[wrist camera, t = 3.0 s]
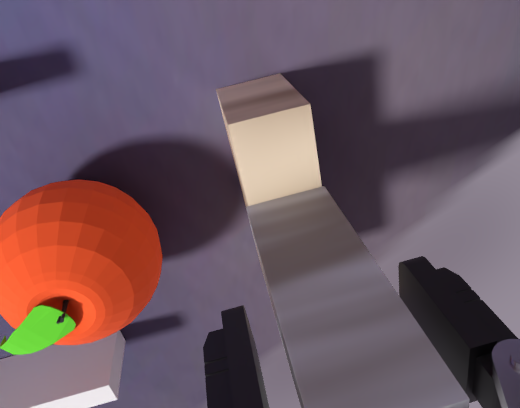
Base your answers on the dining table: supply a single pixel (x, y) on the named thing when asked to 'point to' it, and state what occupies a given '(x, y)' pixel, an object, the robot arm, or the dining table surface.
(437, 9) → the dining table surface
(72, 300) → the clementine
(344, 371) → the silver bent metal strip
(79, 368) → the box
